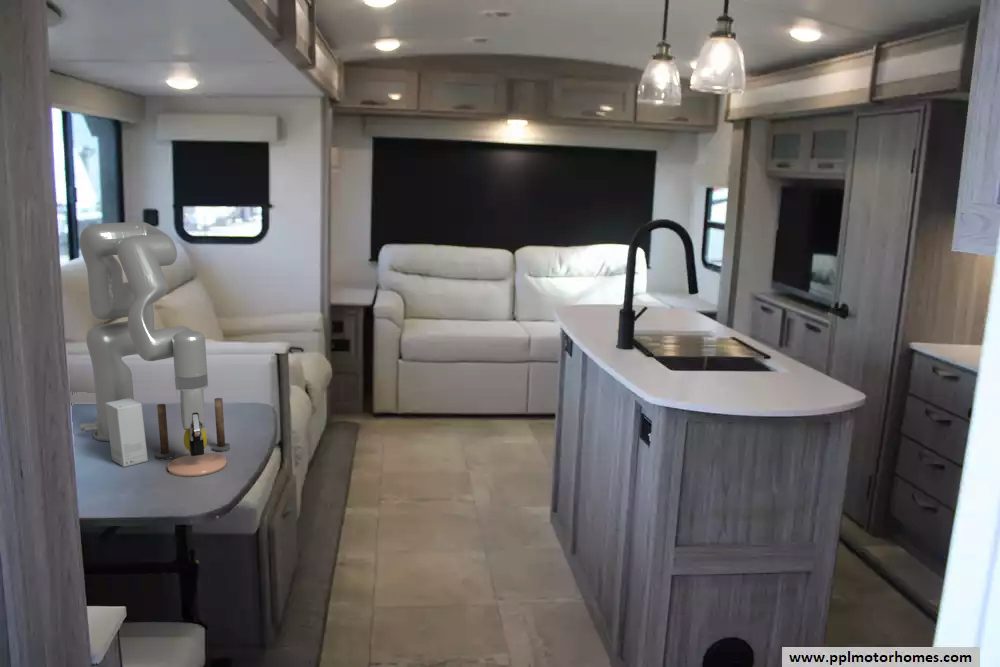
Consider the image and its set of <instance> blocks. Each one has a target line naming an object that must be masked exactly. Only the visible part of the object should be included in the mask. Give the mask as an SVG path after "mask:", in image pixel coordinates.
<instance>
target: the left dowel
mask: <svg viewBox="0 0 1000 667" xmlns="http://www.w3.org/2000/svg"><path fill="white" fill-rule="evenodd" d="M156 408H157V419H158V420H157V421H158V422H157V423H158V433H159V434H158V435H159V445H160V451H157V452H155V457H156V459H157V458H158V459H157V460H161V459H163V460H168V459H167V458H170V457H172V458H174V457H175V451H174V450H171V449H170V447H169V446H170V445H169V434H168V432H169V431H168V419H167V408H166V404H165V403H159V404H157V405H156ZM173 456H174V457H173ZM170 459H171V458H170Z"/></svg>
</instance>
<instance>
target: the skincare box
mask: <svg viewBox="0 0 1000 667" xmlns="http://www.w3.org/2000/svg"><path fill="white" fill-rule="evenodd" d="M105 406H106V414H107V422H108V430H109V438H110V441H109V444H110V445H109V446H110V451H111V460H112V461H114V462H115V463H116V464H118V465H119V466H121V467H123V468H125V467H126V468H127V467H130V466H135V465H139V464H141V463H142V464H143V463H146V462H148V460H149V459H148V451H147V441H146V434H145V433H146V432H145V424H144V415H143V405H142V403H141V402H139V401H136V400H135V399H134V400H133V399H131V398H126V399H122V400H117V401H112V402H107V403H105Z"/></svg>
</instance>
